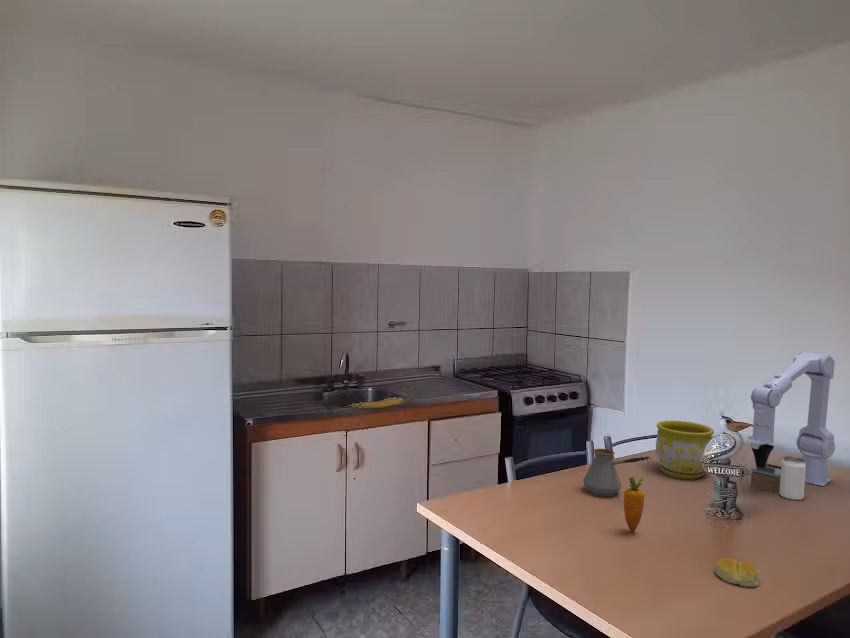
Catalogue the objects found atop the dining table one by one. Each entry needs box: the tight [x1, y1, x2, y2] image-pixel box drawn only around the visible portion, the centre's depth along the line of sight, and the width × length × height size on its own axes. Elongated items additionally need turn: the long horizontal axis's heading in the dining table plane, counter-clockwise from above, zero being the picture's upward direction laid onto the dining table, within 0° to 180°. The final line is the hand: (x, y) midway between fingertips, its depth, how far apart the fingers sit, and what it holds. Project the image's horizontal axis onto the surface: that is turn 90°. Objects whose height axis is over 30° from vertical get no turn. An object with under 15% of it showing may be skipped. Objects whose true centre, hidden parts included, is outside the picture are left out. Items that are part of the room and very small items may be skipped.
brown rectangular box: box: [750, 463, 781, 493], centre depth 197 cm, size 14×8×5 cm, turn 133°
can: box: [778, 455, 806, 501], centre depth 185 cm, size 6×6×12 cm
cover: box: [751, 466, 781, 477], centre depth 194 cm, size 7×8×2 cm
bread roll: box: [714, 557, 761, 588], centre depth 133 cm, size 8×9×4 cm
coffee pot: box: [582, 448, 653, 497], centre depth 181 cm, size 21×12×15 cm, turn 40°
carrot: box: [623, 475, 645, 533], centre depth 155 cm, size 5×5×15 cm
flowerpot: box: [655, 420, 715, 480], centre depth 205 cm, size 18×18×16 cm
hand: (760, 467), depth 188 cm, fingers closed
